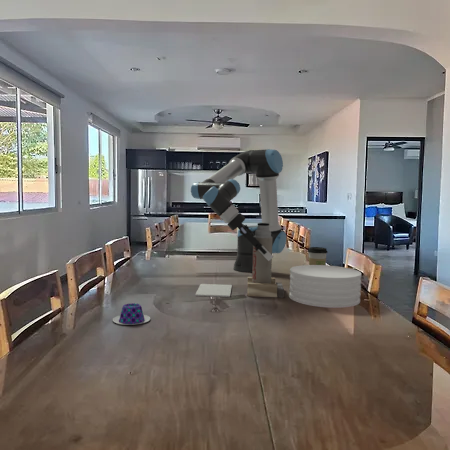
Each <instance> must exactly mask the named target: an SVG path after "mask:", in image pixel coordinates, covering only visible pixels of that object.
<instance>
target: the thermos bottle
mask: <svg viewBox="0 0 450 450" xmlns="http://www.w3.org/2000/svg"><path fill="white" fill-rule="evenodd" d="M256 227H257V230H256V231H255V236H254V237H255V238H256V239H257V240H258V242H259V243H260V244H262V245H263V246H264V247H265V248H266V249H267V250H268V251H269V253H270V254H271V255H272V256H273V253H272V236H271V231H270V230H269V223H262V222H258V223H257V226H256ZM255 249H256V248H255V247H254V246H253V270H252V272H251V274H252V276H251V277H252V283H268V284H271V278H272V265H273V263H272V262H273V258H272V259H271V260H270V261H268V260H267V259H266V258H265V257H264V256H263V255H262V254H261V253H260V252H259V251H258V250H257V251H256V250H255Z"/></svg>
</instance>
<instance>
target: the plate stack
mask: <svg viewBox="0 0 450 450" xmlns="http://www.w3.org/2000/svg"><path fill="white" fill-rule="evenodd" d="M289 272H290V274H289V279H290V280H289V289H288V291H289V294H288V297H289V299H291V301H294V302H297V303H299V304H303V305H306V306H311V307H312V306H313V307H319V308H331V309H333V308H335V309H337V308H339V309H340V308H341V309H342V308H349V307H354V306H358V305H359V304H361V294H362V293H361V289H362V272H361V271H359V270H357V269H353V268H349V267H344V266H337V265H326V264H325V265H309V264H303V265H295V266H291V268H289Z"/></svg>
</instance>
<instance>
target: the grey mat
mask: <svg viewBox="0 0 450 450" xmlns="http://www.w3.org/2000/svg"><path fill="white" fill-rule="evenodd" d="M232 286H233V285H232V284H216V283H213V284H211V283H210V284H209V283H200V284H199V286H198V289H197V290H196V292H195V297H215V298H216V297H218V298H221V297H222V298H231V292H232Z"/></svg>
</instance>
